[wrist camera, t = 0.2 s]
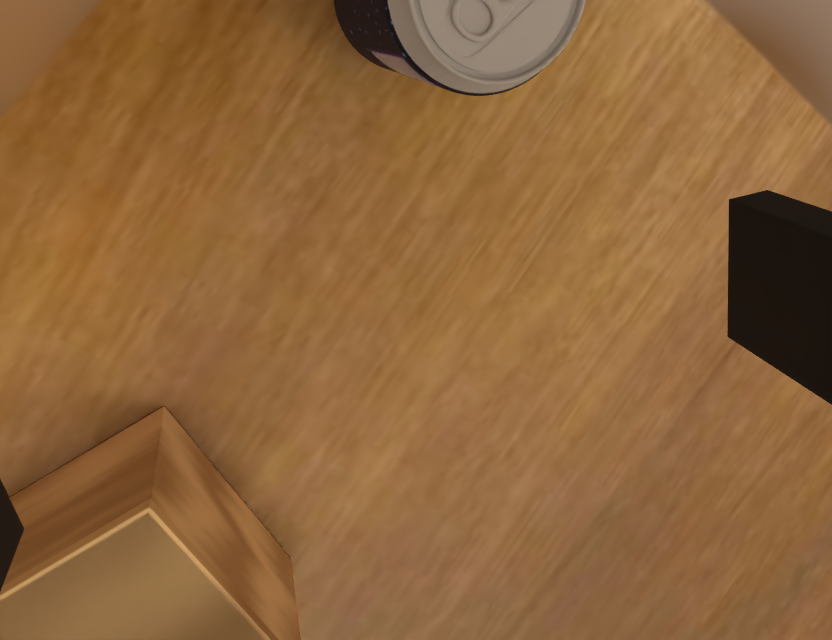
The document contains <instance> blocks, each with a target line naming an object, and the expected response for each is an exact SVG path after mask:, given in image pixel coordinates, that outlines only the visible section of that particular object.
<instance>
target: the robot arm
mask: <svg viewBox="0 0 832 640" xmlns="http://www.w3.org/2000/svg"><path fill="white" fill-rule="evenodd" d="M728 337H729V338H730V339H732V340H733V341H735V342H736V343H738V344H740V345H741V346H743V347H744V348H746V349H747V350H749V351H750V352H752V353H753V354H755V355H756V356H758V357H759V358H761V359H763V360H764V361H766V362H767V363H769V364H770V365H772V366H773V367H775V368H776V369H778V370H779V371H781V372H782V373H784V374H786V375H787V376H789V377H790V378H792V379H793V380H795V381H796V382H798V383H799V384H801V385H802V386H804V387H805V388H807V389H809V390H810V391H812V392H813V393H815V394H816V395H818V396H819V397H821V398H822V399H824V400H825V401H827V402H828V403H830V404H832V212H831V211H828V210H825V209H822V208H819V207H816V206H813V205H810V204H807V203H804V202H801V201H798V200H795V199H792V198H789V197H786V196H783V195H780V194H777V193H774V192H771V191H769V190H766V191H762V192H758V193H754V194H750V195H745V196H741V197H737V198H733V199H729V256H728ZM23 531H24V527H23V525H22V523H21V521H20V519H19V517H18V514H17V512H16V510H15V508H14V506H13V504H12V502H11V500H10V498H9V496H8V494H7V492H6V490H5V488H4V486H3V484H2V482H1V480H0V591H1V589H2V586H3V584H4V581H5V578H6V576H7V573H8V571H9V568H10V565H11V563H12V560H13V557H14V555H15V552H16V550H17V547H18V544H19V542H20V539H21V537H22V534H23Z"/></svg>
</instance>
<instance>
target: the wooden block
mask: <svg viewBox="0 0 832 640" xmlns="http://www.w3.org/2000/svg"><path fill="white" fill-rule="evenodd" d="M10 500H11V502H12V504H13V506H14V508H15V510H16V512H17V514H18V517H19V519H20V521H21V523H22V525H23V527H24V531H23V534H22V537H21V539H20V542H19V544H18V547H17V550H16V552H15V555H14V557H13V560H12V563H11V565H10V568H9V571H8V573H7V576H6V578H5V581H4V584H3V586H2V589H1V591H0V640H301V638H300V630H299V622H298V614H297V606H296V598H295V590H294V581H293V573H292V565H291V558H290V557H289V556H288V555H287V554H286V552H285V551H284V550H283V549H282V548H281V546H280V545H279V544H278V543H277V542H276V540H275V539H274V538H273V537H272V536H271V534H270V533H269V532H268V531H267V529H266V528H265V527H264V526H263V525H262V523H261V522H260V521H259V520H258V519H257V517H256V516H255V515H254V514H253V513H252V511H251V510H250V509H249V508H248V507H247V505H246V504H245V503H244V502H243V501H242V499H241V498H240V497H239V496H238V494H237V493H236V492H235V491H234V490H233V488H232V487H231V486H230V485H229V484H228V482H227V481H226V480H225V479H224V478H223V476H222V475H221V474H220V473H219V472H218V470H217V469H216V468H215V467H214V466H213V464H212V463H211V462H210V461H209V459H208V458H207V457H206V456H205V455H204V453H203V452H202V451H201V450H200V449H199V447H198V446H197V445H196V444H195V443H194V441H193V440H192V439H191V438H190V437H189V435H188V434H187V433H186V432H185V431H184V429H183V428H182V427H181V426H180V424H179V423H178V422H177V421H176V420H175V418H174V417H173V416H172V415H171V414H170V412H169V411H168V410H167V409H166V408H165V407H162V408H160V409H158V410H157V411H155V412H153V413H152V414H150V415H148V416H147V417H145V418H143V419H142V420H140V421H138V422H136V423H135V424H133V425H131V426H130V427H128V428H126V429H125V430H123V431H121V432H120V433H118V434H116V435H114V436H113V437H111V438H109V439H108V440H106V441H104V442H103V443H101V444H99V445H98V446H96V447H94V448H93V449H91V450H89V451H87V452H86V453H84V454H82V455H81V456H79V457H77V458H76V459H74V460H72V461H71V462H69V463H67V464H65V465H64V466H62V467H60V468H59V469H57V470H55V471H54V472H52V473H50V474H49V475H47V476H45V477H44V478H42V479H40V480H38V481H37V482H35V483H33V484H32V485H30V486H28V487H27V488H25V489H23V490H22V491H20V492H18V493H16V494H15V495H13V496H11V497H10Z"/></svg>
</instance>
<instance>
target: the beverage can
mask: <svg viewBox="0 0 832 640" xmlns="http://www.w3.org/2000/svg"><path fill="white" fill-rule="evenodd" d="M585 1H586V0H334V6H335V11H336V15H337V18H338V21H339V24H340V26H341V28H342V30H343V32H344V34H345V36H346V37H347V39H348V40H349V42H350V43H351V44H352V46H353V47H354V48H355V49H356V50H357V51H358V52H359V53H360V54H361V55H362V56H364V57H365V58H366V59H368V60H369V61H371V62H373V63H374V64H376V65H378V66H381V67H383V68H386V69H389V70H392V71H395V72H398V73H401V74H403V75H406V76H409V77H412V78H415V79H418V80H421V81H423V82H426V83H429V84H432V85H435V86H438V87H441V88H443V89H446V90H449V91H452V92H456V93H459V94H465V95H473V96H484V95H493V94H498V93H502V92H506V91H509V90H511V89H514V88H516V87H518V86H520V85H522V84H524V83H526V82H527V81H529V80H530V79H532V78H533V77H534V76H536V75H537V74H538V73H539V72H541V71H542V70H543V69H544V68H545V67H546V66H548V65H549V64H550V63H551V62H552V61H553V60H554V59H555V58H556V57H557V56H558V55H559V54H560V53H561V52H562V50H563V49H564V48H565V46H566V45H567V44H568V42H569V41H570V39H571V37H572V35H573V34H574V32H575V30H576V28H577V26H578V23H579V21H580V18H581V16H582V13H583V9H584V5H585Z"/></svg>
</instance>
